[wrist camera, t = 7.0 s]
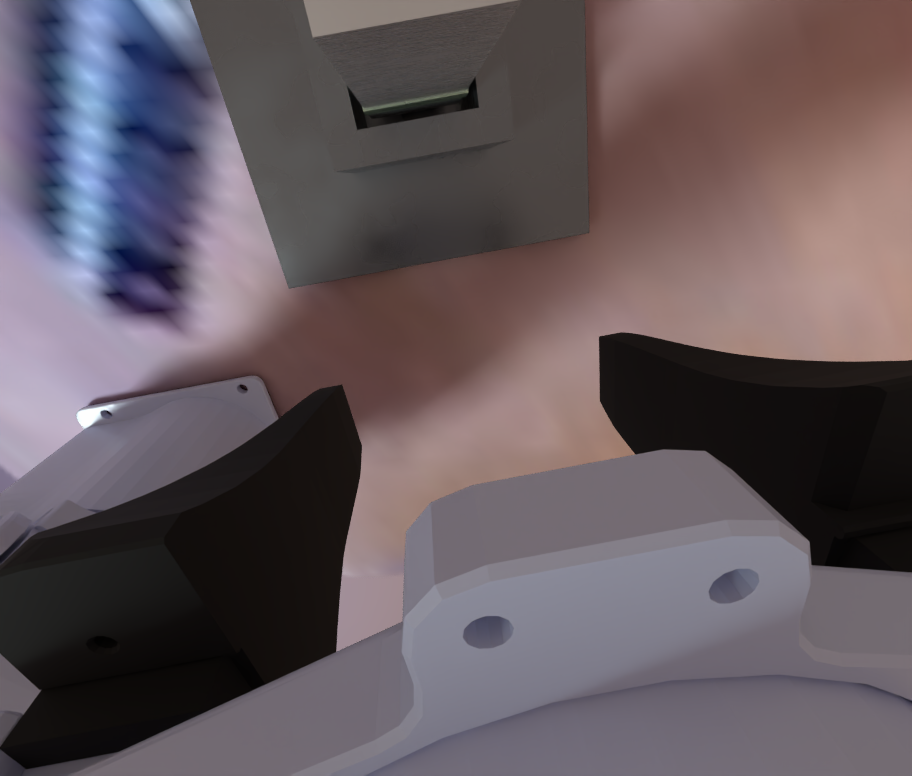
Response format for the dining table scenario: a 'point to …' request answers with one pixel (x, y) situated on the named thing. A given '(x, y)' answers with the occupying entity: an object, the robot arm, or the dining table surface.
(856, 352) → the dining table surface
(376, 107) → the column
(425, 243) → the stand base
